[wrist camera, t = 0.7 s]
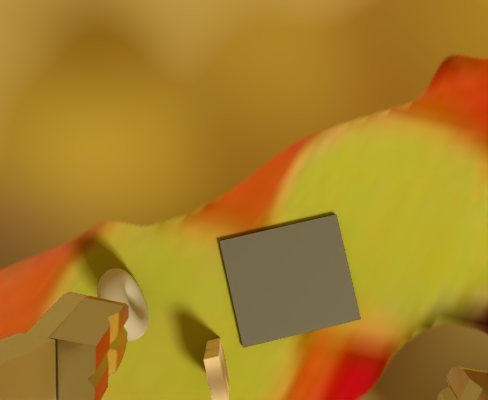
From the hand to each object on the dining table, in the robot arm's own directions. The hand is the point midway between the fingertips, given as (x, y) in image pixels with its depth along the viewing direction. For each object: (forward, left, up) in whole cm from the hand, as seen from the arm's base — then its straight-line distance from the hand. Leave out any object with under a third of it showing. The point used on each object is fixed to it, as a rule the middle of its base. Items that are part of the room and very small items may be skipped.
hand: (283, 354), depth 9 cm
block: (-17, +7, -45) cm, 49 cm away
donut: (-5, +17, -45) cm, 49 cm away
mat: (-8, -6, -45) cm, 46 cm away
